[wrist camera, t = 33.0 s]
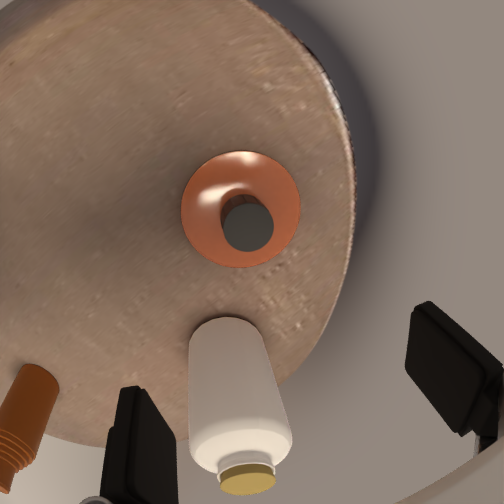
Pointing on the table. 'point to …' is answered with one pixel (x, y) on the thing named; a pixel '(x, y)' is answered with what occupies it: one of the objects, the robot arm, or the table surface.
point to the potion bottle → (235, 407)
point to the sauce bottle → (24, 420)
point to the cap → (246, 223)
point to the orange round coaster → (227, 186)
